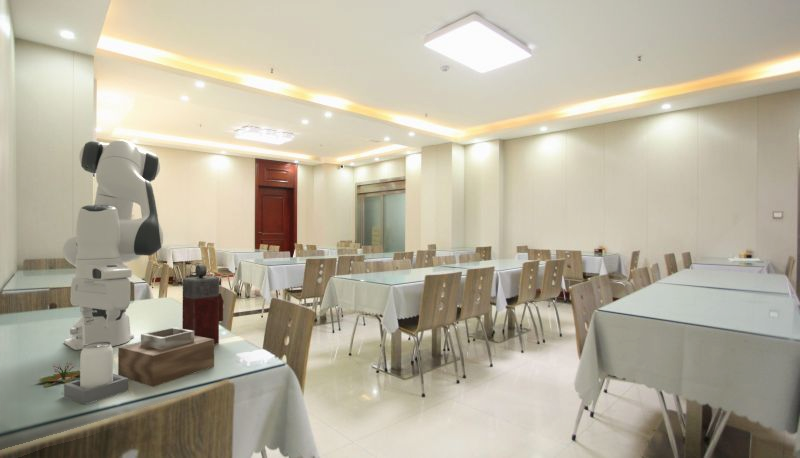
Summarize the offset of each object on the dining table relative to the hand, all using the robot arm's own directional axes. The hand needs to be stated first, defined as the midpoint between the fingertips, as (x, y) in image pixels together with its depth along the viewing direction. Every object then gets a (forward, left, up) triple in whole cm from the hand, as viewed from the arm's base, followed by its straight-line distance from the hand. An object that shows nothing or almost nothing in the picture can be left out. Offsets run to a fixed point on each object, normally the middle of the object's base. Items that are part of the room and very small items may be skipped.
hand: (99, 326), depth 101 cm
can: (0, 0, -17) cm, 17 cm away
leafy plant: (-19, +1, -17) cm, 26 cm away
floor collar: (0, 0, -17) cm, 17 cm away
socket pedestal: (0, +18, -17) cm, 24 cm away
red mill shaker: (-17, +42, -17) cm, 48 cm away
